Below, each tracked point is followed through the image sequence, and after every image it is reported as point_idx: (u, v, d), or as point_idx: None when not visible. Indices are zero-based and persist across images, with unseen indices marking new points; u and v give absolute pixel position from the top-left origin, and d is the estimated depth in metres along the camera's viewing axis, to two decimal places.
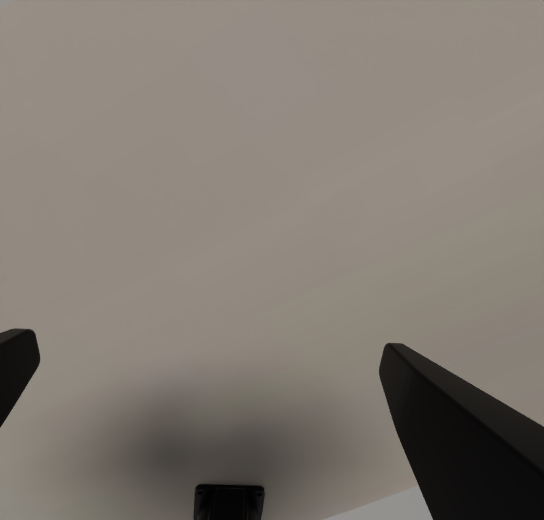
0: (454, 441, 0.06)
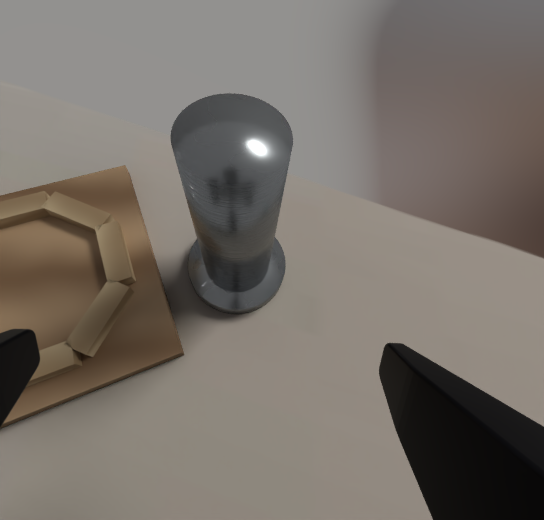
0: (454, 441, 0.06)
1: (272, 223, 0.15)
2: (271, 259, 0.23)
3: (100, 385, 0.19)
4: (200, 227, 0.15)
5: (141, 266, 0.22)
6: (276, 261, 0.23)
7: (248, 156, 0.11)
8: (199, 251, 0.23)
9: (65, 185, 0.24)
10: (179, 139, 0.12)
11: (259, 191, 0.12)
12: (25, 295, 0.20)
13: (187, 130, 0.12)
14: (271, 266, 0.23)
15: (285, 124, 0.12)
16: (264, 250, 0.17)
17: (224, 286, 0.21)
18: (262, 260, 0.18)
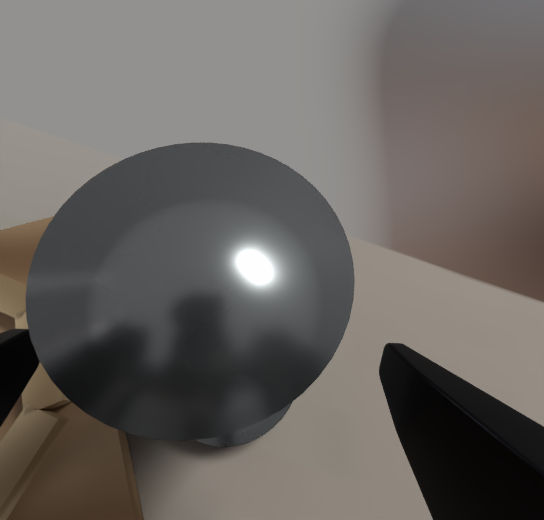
0: (454, 441, 0.06)
1: None
2: None
3: None
4: None
5: None
6: None
7: (238, 330, 0.04)
8: None
9: None
10: (52, 278, 0.04)
11: None
12: None
13: (79, 249, 0.04)
14: None
15: (332, 222, 0.05)
16: None
17: None
18: None
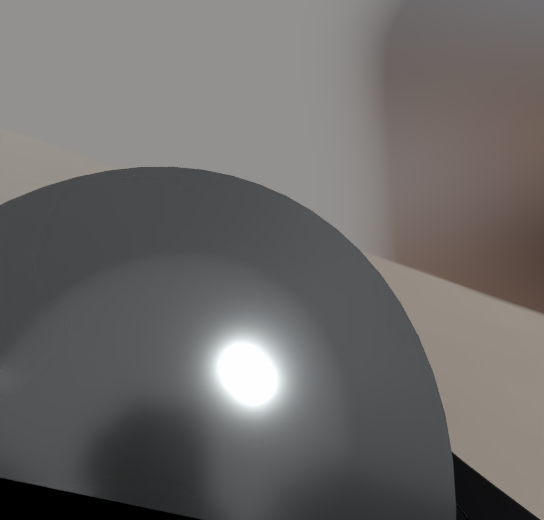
0: None
1: None
2: None
3: None
4: None
5: None
6: None
7: None
8: None
9: None
10: None
11: None
12: None
13: None
14: None
15: (396, 324, 0.03)
16: None
17: None
18: None
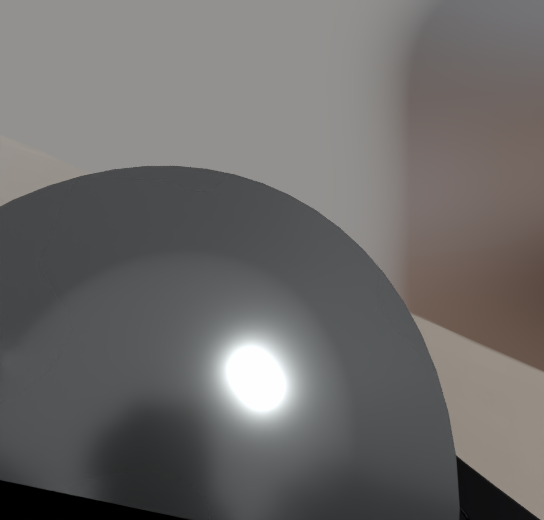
0: None
1: None
2: None
3: None
4: None
5: None
6: None
7: None
8: None
9: None
10: None
11: None
12: None
13: None
14: None
15: (399, 322, 0.03)
16: None
17: None
18: None
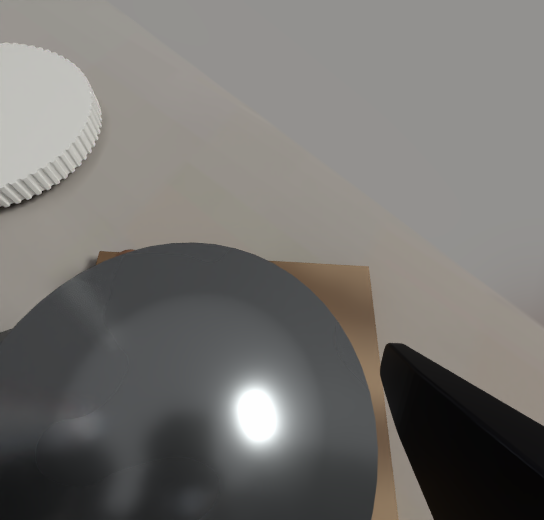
0: (455, 441, 0.06)
1: None
2: None
3: None
4: None
5: None
6: None
7: None
8: None
9: (294, 270, 0.19)
10: None
11: None
12: None
13: (15, 415, 0.03)
14: None
15: (347, 358, 0.04)
16: None
17: None
18: None
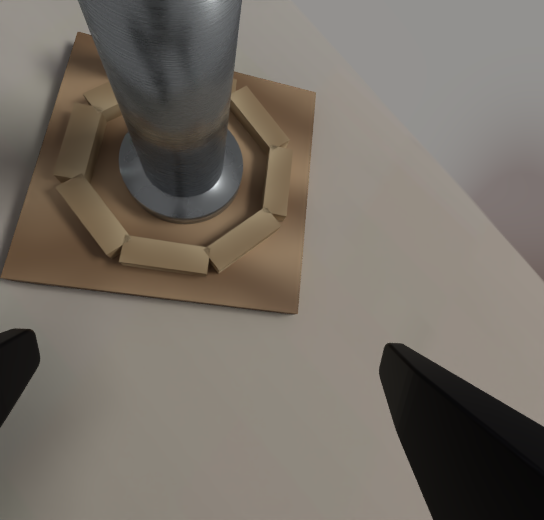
0: (454, 441, 0.06)
1: (218, 90, 0.11)
2: (226, 163, 0.19)
3: (214, 303, 0.18)
4: (111, 77, 0.10)
5: (292, 208, 0.20)
6: (232, 167, 0.19)
7: None
8: None
9: (252, 83, 0.22)
10: None
11: (186, 2, 0.07)
12: None
13: None
14: (225, 172, 0.19)
15: None
16: (209, 137, 0.13)
17: (162, 186, 0.17)
18: (208, 153, 0.14)
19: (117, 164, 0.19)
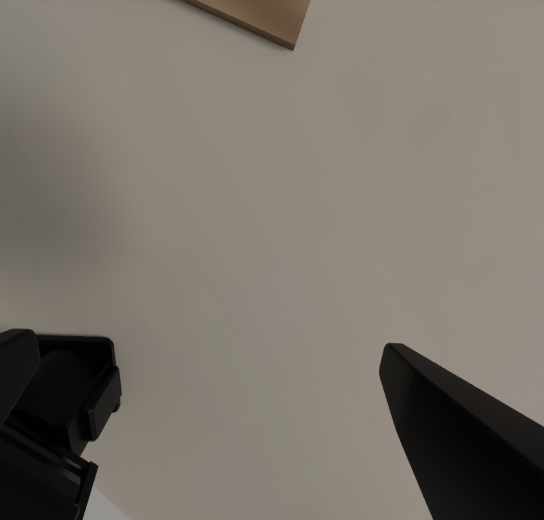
0: (454, 441, 0.06)
1: None
2: None
3: (201, 3, 0.15)
4: None
5: None
6: None
7: None
8: None
9: None
10: None
11: None
12: None
13: None
14: None
15: None
16: None
17: None
18: None
19: None
